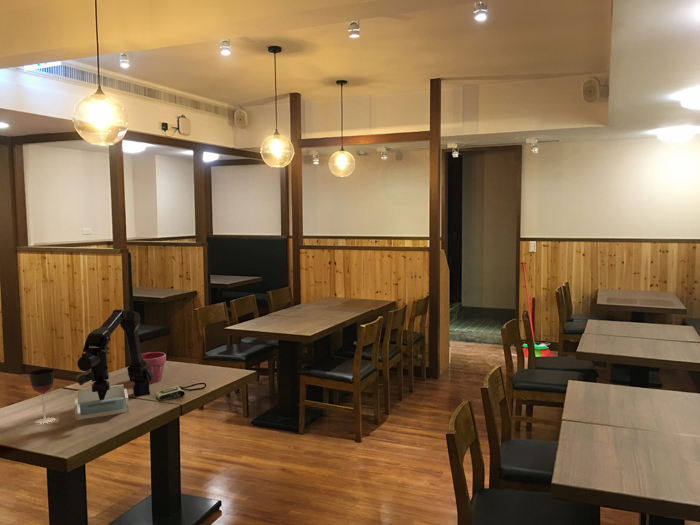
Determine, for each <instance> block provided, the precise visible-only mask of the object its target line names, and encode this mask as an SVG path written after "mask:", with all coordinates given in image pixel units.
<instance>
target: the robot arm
mask: <svg viewBox="0 0 700 525" xmlns="http://www.w3.org/2000/svg"><path fill="white" fill-rule="evenodd" d="M119 325H120V328H121V329H122V331H124V332H125V335H126V341H127V346H128V353H129V358H130V363H129V365H128V367H127V368H126V369H127V374H128V377H129V378H128V379H129V382H132V394H133V395H134V396H135V397H141V396H148V395H151V390H150V383H149V381H152V378H153V374H152V373H151V371H150V370H149V369H148V365H147V363H146V362H145V361H144V360H143V358H142V354H143V353H142V349H141V348H142V347H141V342H140V335H139V331H138V329H139V327H140V325H141V315H140V313H139V312H137V311H130V310H126V309H124V308H123V309H119V308H118V309H117V308H116V309H114V310H113V311H112V314H110V316H109V317H108V318H107V319H106V320H105V321H104V322H103V323H102V324H101V325H100V327H98V328H96V329H93V330H92V331H91V332H89V333H88V335H87V337H86V340H85V342H84V346H83V349H82V353H81V357H79V358H78V360H77V363H76V364H77V367H78V370H80V371H82V372H81V373H79V374H78V375H76V377H75V378H76V381H77V383H78V385H79V386H83V385H84V384H86V383H88V382H90V381H91V383H92V384H91V389H92V392H97V393H98V396H99V399H100V400H104V398H105V395H106V393H107V390H110V386H111V385H110V381H108V380H109V378H110V374H109V365H108V363H109V362H108V351H109V350H110V347H109V346H108V345H109V343H110V341H111V339H112V338H111V335H112V334H113V333H114V331H116V329H117V328H118V326H119Z"/></svg>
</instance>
